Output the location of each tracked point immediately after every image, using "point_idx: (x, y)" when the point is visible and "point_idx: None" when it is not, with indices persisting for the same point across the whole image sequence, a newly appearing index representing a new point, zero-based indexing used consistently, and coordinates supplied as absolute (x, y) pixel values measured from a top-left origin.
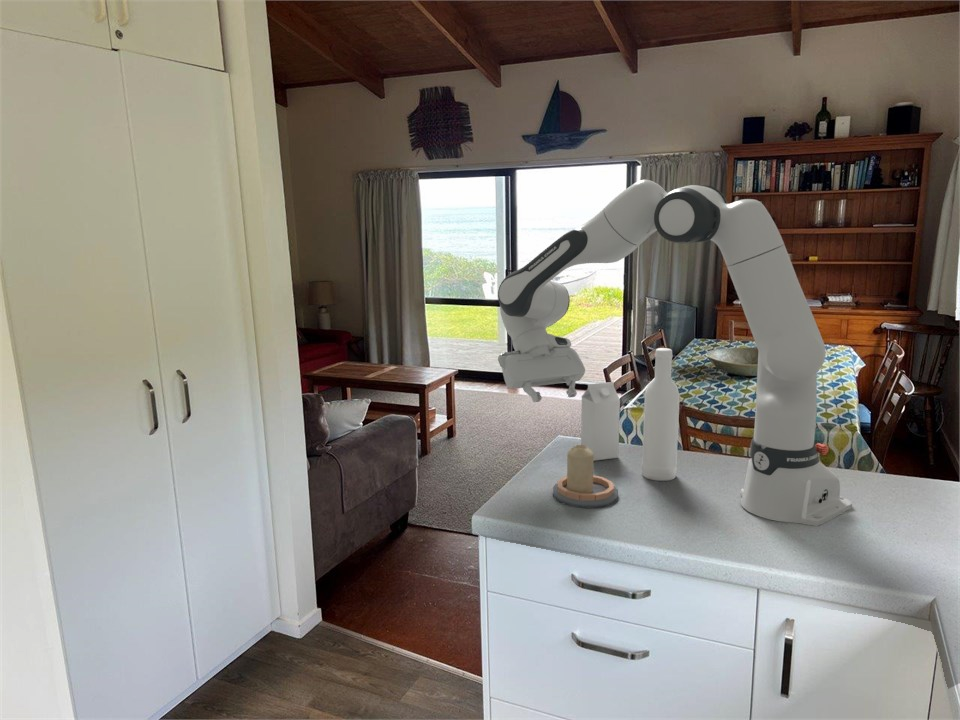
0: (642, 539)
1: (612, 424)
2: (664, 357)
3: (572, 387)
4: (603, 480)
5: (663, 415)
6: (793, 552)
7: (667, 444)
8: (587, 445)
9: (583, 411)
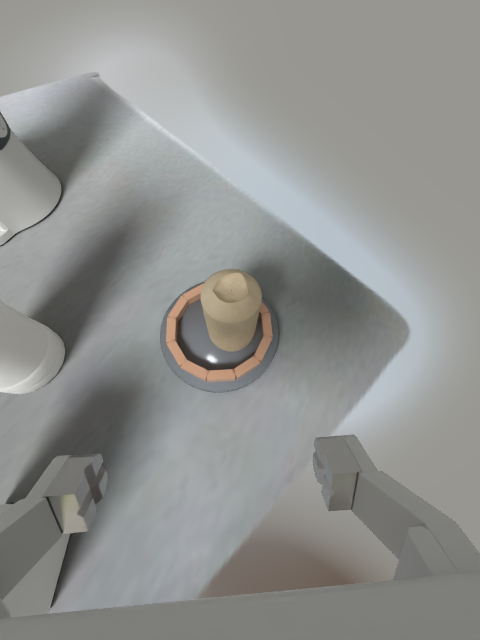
0: (232, 200)
1: None
2: None
3: (43, 496)
4: (175, 331)
5: None
6: (113, 137)
7: None
8: (43, 569)
9: None
